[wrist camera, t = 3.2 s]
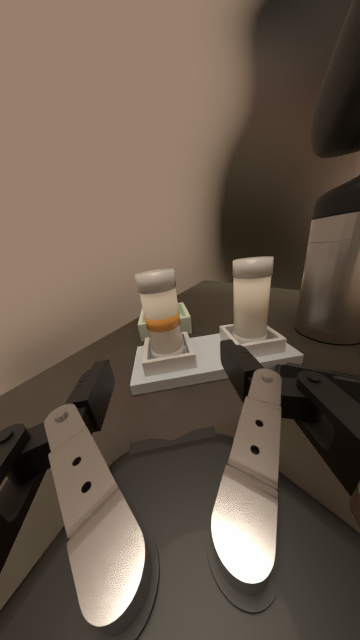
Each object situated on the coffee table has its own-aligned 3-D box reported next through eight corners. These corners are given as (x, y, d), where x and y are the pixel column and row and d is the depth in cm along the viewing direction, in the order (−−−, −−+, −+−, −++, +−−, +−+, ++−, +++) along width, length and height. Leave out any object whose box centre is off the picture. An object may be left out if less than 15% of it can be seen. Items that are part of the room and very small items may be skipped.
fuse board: (262, 333, 31) (264, 315, 30) (302, 364, 23) (306, 341, 21) (139, 354, 29) (134, 336, 28) (132, 395, 21) (126, 372, 20)
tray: (184, 315, 43) (183, 302, 42) (192, 333, 34) (190, 317, 33) (144, 321, 43) (141, 308, 41) (141, 341, 33) (137, 325, 32)
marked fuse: (174, 345, 28) (162, 268, 23) (191, 357, 24) (181, 269, 19) (148, 356, 26) (129, 274, 21) (162, 372, 22) (143, 277, 17)
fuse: (246, 333, 29) (248, 257, 24) (272, 343, 25) (281, 256, 20) (226, 343, 27) (225, 261, 22) (252, 356, 23) (257, 261, 18)
